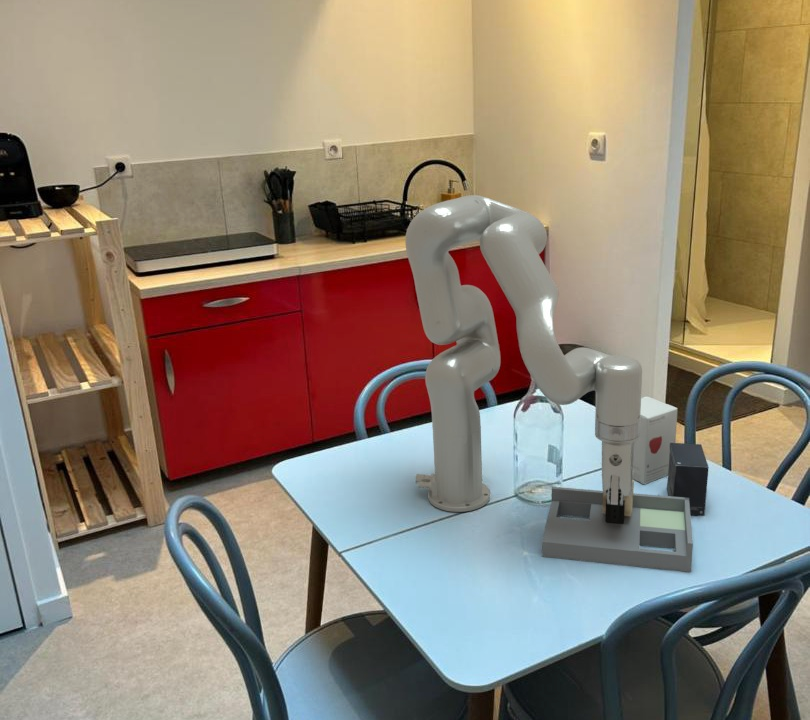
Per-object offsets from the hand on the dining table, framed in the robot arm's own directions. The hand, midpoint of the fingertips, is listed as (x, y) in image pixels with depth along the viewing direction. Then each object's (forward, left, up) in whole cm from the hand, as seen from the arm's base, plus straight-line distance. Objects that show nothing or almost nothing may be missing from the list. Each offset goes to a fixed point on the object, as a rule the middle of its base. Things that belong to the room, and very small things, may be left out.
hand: (614, 521), depth 147 cm
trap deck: (0, +1, -4) cm, 4 cm away
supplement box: (+5, +29, -4) cm, 30 cm away
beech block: (0, +4, 0) cm, 4 cm away
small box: (+13, +17, -5) cm, 22 cm away
